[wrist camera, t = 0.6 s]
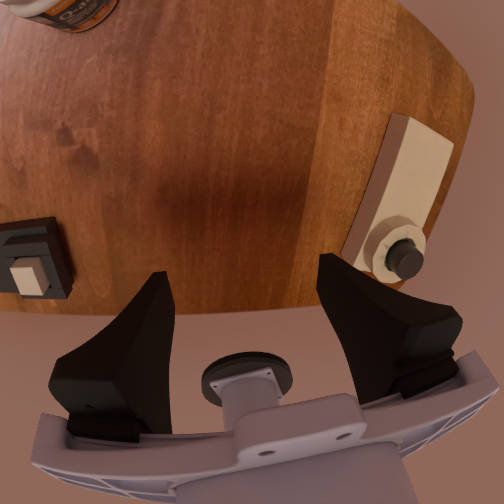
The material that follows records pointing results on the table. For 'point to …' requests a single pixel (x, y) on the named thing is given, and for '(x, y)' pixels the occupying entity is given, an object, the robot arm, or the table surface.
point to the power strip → (31, 245)
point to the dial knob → (404, 259)
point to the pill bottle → (62, 12)
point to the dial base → (397, 195)
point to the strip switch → (30, 275)
